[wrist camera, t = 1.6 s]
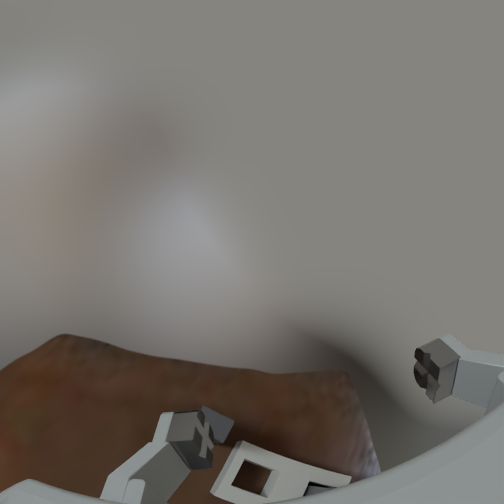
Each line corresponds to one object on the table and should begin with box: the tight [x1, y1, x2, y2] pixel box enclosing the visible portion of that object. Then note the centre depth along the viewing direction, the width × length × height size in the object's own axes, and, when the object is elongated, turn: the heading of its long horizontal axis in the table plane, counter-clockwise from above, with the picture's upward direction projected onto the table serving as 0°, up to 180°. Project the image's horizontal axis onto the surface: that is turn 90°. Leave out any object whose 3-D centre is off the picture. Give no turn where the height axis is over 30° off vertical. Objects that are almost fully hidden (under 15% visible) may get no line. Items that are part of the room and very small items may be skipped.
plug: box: [200, 406, 235, 444], centre depth 30 cm, size 3×4×9 cm
